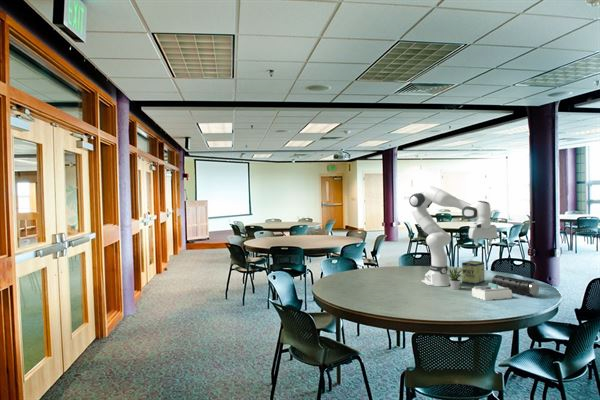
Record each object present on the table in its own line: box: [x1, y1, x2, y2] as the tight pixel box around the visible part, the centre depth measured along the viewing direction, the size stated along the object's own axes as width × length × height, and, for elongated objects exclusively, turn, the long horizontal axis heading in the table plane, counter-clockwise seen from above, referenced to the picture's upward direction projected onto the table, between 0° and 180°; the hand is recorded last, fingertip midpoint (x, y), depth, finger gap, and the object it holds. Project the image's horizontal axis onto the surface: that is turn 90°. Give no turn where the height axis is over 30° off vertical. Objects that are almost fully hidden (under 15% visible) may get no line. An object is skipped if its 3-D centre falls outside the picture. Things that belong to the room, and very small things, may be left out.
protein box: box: [461, 260, 485, 286], centre depth 293 cm, size 10×16×16 cm
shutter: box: [488, 282, 505, 289], centre depth 251 cm, size 7×8×3 cm
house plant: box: [447, 266, 465, 291], centre depth 272 cm, size 14×14×16 cm
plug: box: [480, 285, 491, 290], centre depth 249 cm, size 4×4×6 cm
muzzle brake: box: [491, 274, 540, 297], centre depth 259 cm, size 10×28×10 cm, turn 25°
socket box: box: [471, 285, 513, 301], centre depth 250 cm, size 12×20×6 cm, turn 104°
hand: (483, 245), depth 261 cm, fingers open, 8 cm apart
